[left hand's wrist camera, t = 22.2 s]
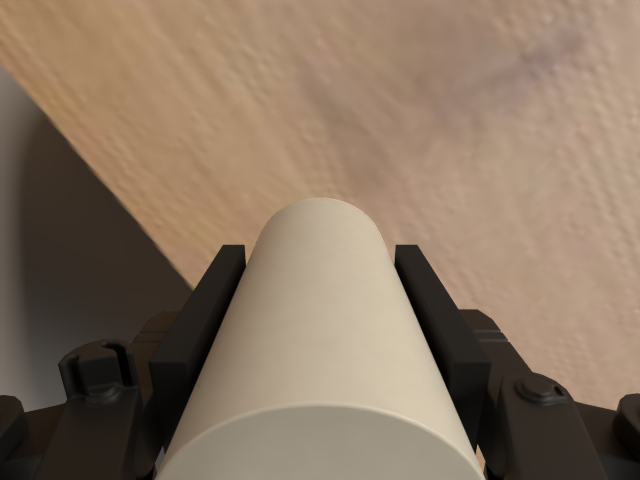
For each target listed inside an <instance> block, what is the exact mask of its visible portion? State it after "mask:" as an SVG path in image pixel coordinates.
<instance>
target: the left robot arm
mask: <svg viewBox="0 0 640 480" xmlns="http://www.w3.org/2000/svg"><path fill="white" fill-rule="evenodd" d="M394 267H395V269H396V271H397V274H398V276H399V278H400V281H401V283H402V285H403V288H404V290H405V292H406V295H407V297H408V299H409V302H410V304H411V306H412V309H413V311H414V313H415V316H416V318H417V320H418V323H419V325H420V327H421V330H422V332H423V334H424V337H425V339H426V341H427V344H428V346H429V348H430V351H431V353H432V355H433V358H434V360H435V362H436V365H437V367H438V369H439V372H440V374H441V376H442V379H443V381H444V383H445V386H446V388H447V390H448V393H449V395H450V397H451V400H452V402H453V404H454V407H455V409H456V411H457V414H458V416H459V418H460V421H461V423H462V425H463V428H464V430H465V432H466V435H467V437H468V439H469V442H470V444H471V446H472V449H473V451H474V453H475V455H476V449H477V444H478V446H479V448H480V450H481V452H482V454H483V457H484V459H485V467H484V472H483V474H484V477H485V479H486V480H640V394H638V393H636V394H629V395H625V396H624V397H623V398H622V399H620V401H619V404H618V407H617V411H614V410H610V409H605V408H601V407H596V406H591V405H587V404H583V403H579V402H576V401H574V400H573V398H572V397H571V395H570V394H569V392H568V391H567V390H566V389H565V388H564V387H563V386H561V385H560V384H559V383H557V382H556V381H554V380H552V379H550V378H548V377H546V376H544V375H541V374H538V373H534V372H532V371H531V370H530V368H529V367H528V366H527V364H526V363H525V362H524V360H523V359H522V358H521V356H520V355H519V354H518V353H517V351H516V350H515V349H514V347H513V346H512V345H511V343H510V342H508V339H507V338H506V337H505V335H504V334H503V333H501V330H500V329H499V328H498V326H497V325H496V324H495V322H494V321H493V320H492V319H491V318H490V317H488V316H487V315H485V314H484V313H482V312H481V311H479V310H478V309H458V308H457V306H456V305H455V303H454V302H453V300H452V298H451V297H450V295H449V294H448V292H447V291H446V289H445V288H444V286H443V284H442V283H441V281H440V280H439V278H438V277H437V275H436V273H435V272H434V270H433V269H432V267H431V266H430V264H429V263H428V261H427V259H426V258H425V256H424V255H423V253H422V252H421V250H420V249H419V247H418V245H396V250H395V264H394ZM245 268H246V259H245V245H223V246H222V247H221V249H220V251H219V252H218V254H217V255H216V257H215V258H214V260H213V262H212V263H211V265H210V266H209V268H208V269H207V271H206V272H205V274H204V276H203V277H202V279H201V280H200V282H199V283H198V285H197V286H196V288H195V290H194V291H193V293H192V294H191V296H190V297H189V299H188V301H187V302H186V304H185V305H184V307H183V308H182V310H181V311H162V312H160V313H159V314H157V315H156V316H154V317H153V318H151V319H150V320H148V322H147V323H146V324H145V326H144V327H143V328H142V330H141V331H140V334H138V335H137V336H136V338H135V339H134V340H133V343H132V344H129V343H128V342H127V341H124V340H119V339H103V340H99V341H95V342H90V343H88V344H85V345H83V346H81V347H78V348H76V349H74V350H73V351H71V352H70V353H68V354H67V355H65V356H64V358H63V359H62V360H61V361H60V362H59V363H58V367H59V370H60V374H61V377H62V381H63V385H64V388H65V392H66V396H67V401H66V403H64V404H60V405H57V406H52V407H48V408H43V409H39V410H34V411H29V412H24V409H23V406H22V403H21V401H20V400H18V399H17V398H16V397H14V396H7V395H1V396H0V480H155V477H156V475H157V472H156V467H155V462H156V459H157V457H158V455H159V453H160V450H161V448H162V446H163V447H164V453H165V454H166V452H167V450H168V447H169V445H170V443H171V440H172V438H173V436H174V433H175V431H176V429H177V426H178V424H179V422H180V419H181V417H182V415H183V412H184V410H185V408H186V405H187V403H188V401H189V398H190V396H191V394H192V391H193V389H194V387H195V384H196V382H197V380H198V377H199V375H200V373H201V370H202V368H203V366H204V363H205V361H206V359H207V356H208V354H209V352H210V349H211V347H212V345H213V342H214V340H215V338H216V335H217V333H218V331H219V328H220V326H221V324H222V321H223V319H224V317H225V314H226V312H227V310H228V308H229V305H230V303H231V301H232V298H233V296H234V294H235V291H236V289H237V287H238V284H239V282H240V280H241V277H242V275H243V273H244V270H245Z"/></svg>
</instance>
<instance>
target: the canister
mask: <svg viewBox="0 0 640 480" xmlns="http://www.w3.org/2000/svg"><path fill="white" fill-rule="evenodd" d="M155 480H486V479H485V477H484V474H483V472H482V470H481V467H480V465H479V463H478V460H477V458H476V456H475V453H474V451H473V449H472V446H471V444H470V442H469V439H468V437H467V435H466V432H465V430H464V428H463V425H462V423H461V421H460V418H459V416H458V414H457V411H456V409H455V407H454V404H453V402H452V400H451V397H450V395H449V393H448V390H447V388H446V386H445V383H444V381H443V379H442V376H441V374H440V372H439V369H438V367H437V365H436V362H435V360H434V358H433V355H432V353H431V351H430V348H429V346H428V344H427V341H426V339H425V337H424V334H423V332H422V330H421V327H420V325H419V323H418V320H417V318H416V316H415V313H414V311H413V309H412V306H411V304H410V302H409V299H408V297H407V295H406V292H405V290H404V288H403V285H402V283H401V281H400V278H399V276H398V274H397V271H396V269H395V267H394V264H393V262H392V260H391V257H390V255H389V253H388V250H387V248H386V246H385V243H384V241H383V239H382V236H381V234H380V232H379V230H378V228H377V227H376V225H375V224H374V223H373V221H372V220H371V219H370V218H369V217H368V216H367V215H366V214H365V213H363V212H362V211H361V210H359V209H358V208H356V207H355V206H353V205H351V204H349V203H347V202H344V201H341V200H337V199H332V198H321V197H318V198H308V199H304V200H300V201H297V202H294V203H292V204H290V205H288V206H286V207H284V208H283V209H281V210H280V211H278V212H277V213H276V214H275V215H274V216H273V217H271V219H270V220H269V221H268V222H267V223H266V225H265V226H264V228H263V229H262V231H261V233H260V235H259V238H258V240H257V242H256V245H255V247H254V249H253V252H252V254H251V256H250V259H249V261H248V263H247V266H246V268H245V270H244V273H243V275H242V277H241V280H240V282H239V284H238V287H237V289H236V291H235V294H234V296H233V298H232V301H231V303H230V305H229V308H228V310H227V312H226V314H225V317H224V319H223V321H222V324H221V326H220V328H219V331H218V333H217V335H216V338H215V340H214V342H213V345H212V347H211V349H210V352H209V354H208V356H207V359H206V361H205V363H204V366H203V368H202V370H201V373H200V375H199V377H198V380H197V382H196V384H195V387H194V389H193V391H192V394H191V396H190V398H189V401H188V403H187V405H186V408H185V410H184V412H183V415H182V417H181V419H180V422H179V424H178V426H177V429H176V431H175V433H174V436H173V438H172V440H171V443H170V445H169V447H168V450H167V452H166V454H165V457H164V459H163V461H162V464H161V466H160V468H159V471H158V473H157V475H156V477H155Z"/></svg>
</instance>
